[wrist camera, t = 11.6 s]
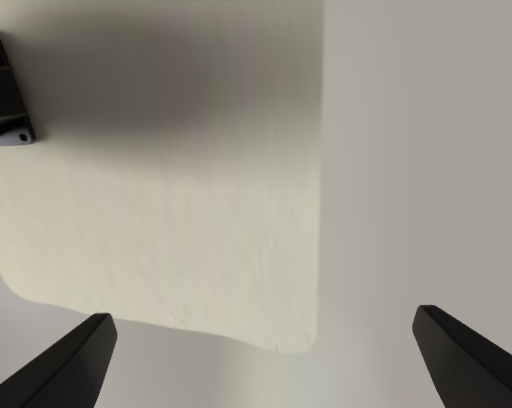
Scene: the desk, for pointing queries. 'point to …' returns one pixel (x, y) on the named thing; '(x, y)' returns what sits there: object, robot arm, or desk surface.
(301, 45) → the desk surface
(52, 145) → the desk surface
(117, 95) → the desk surface
